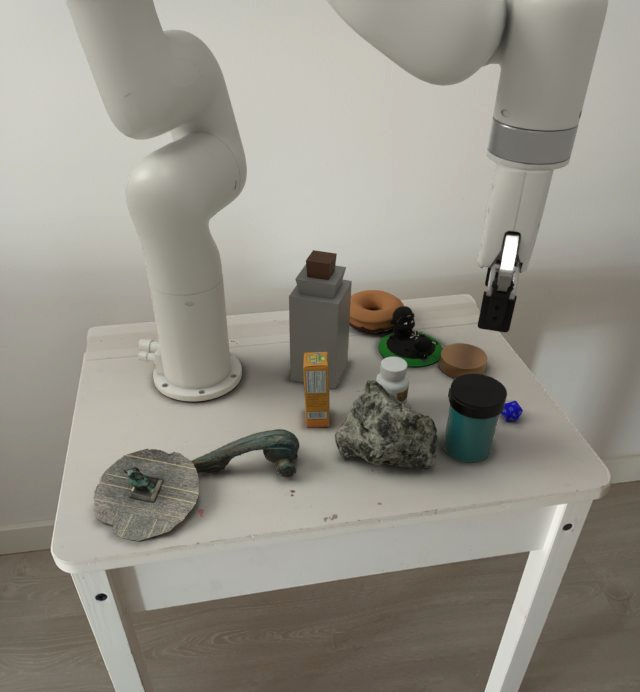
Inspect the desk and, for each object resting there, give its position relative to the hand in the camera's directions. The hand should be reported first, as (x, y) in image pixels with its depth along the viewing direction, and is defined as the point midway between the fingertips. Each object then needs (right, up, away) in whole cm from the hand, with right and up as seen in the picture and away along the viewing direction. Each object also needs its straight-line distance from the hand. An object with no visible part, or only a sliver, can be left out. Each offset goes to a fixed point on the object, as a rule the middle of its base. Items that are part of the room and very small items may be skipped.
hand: (496, 307), depth 71 cm
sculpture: (-41, -23, +6) cm, 48 cm away
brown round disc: (+2, -4, +27) cm, 27 cm away
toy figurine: (-5, -1, +30) cm, 31 cm away
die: (+7, -12, +18) cm, 22 cm away
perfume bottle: (-19, -5, +25) cm, 32 cm away
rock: (-11, -17, +12) cm, 23 cm away
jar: (0, -16, +13) cm, 20 cm away
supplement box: (-20, -12, +17) cm, 28 cm away
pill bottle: (-10, -11, +19) cm, 24 cm away
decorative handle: (-29, -18, +9) cm, 35 cm away
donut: (-10, +7, +34) cm, 36 cm away
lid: (0, -9, +7) cm, 11 cm away
